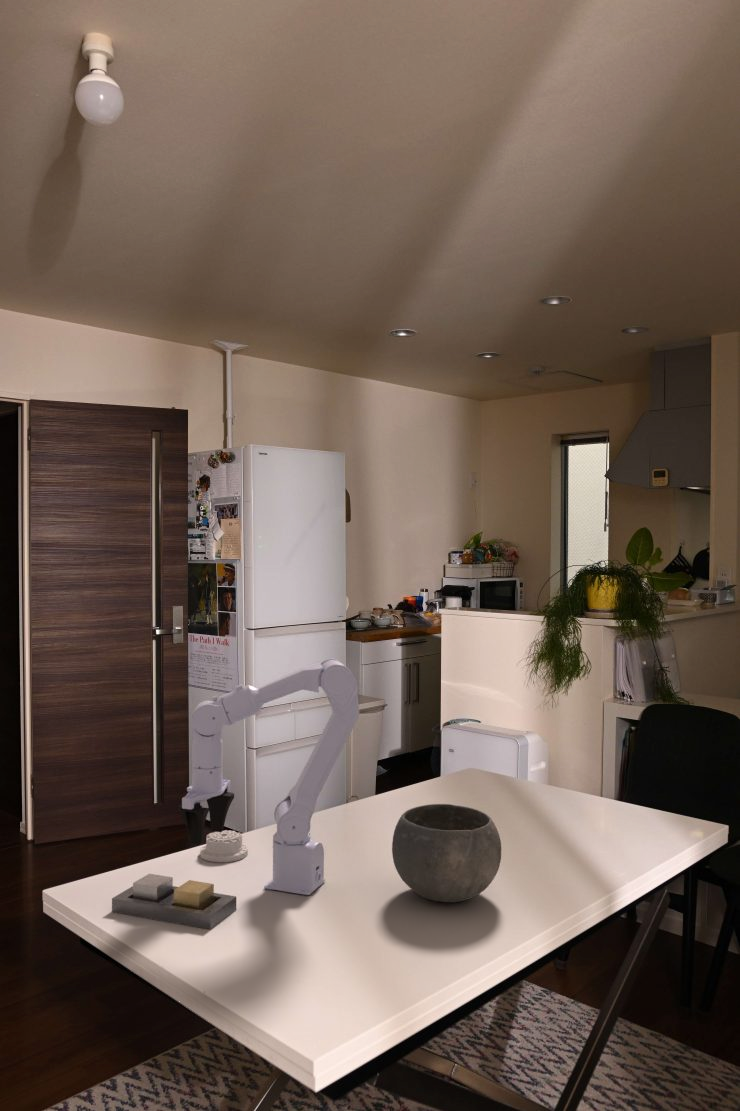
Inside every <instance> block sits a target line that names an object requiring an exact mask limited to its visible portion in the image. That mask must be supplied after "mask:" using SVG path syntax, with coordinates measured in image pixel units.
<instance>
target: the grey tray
mask: <svg viewBox="0 0 740 1111" xmlns="http://www.w3.org/2000/svg"><path fill="white" fill-rule="evenodd" d="M178 887H179V886H174V885H173V894H171V895H170V896H168V897H167V898H165V899H164V900H162V901H161V902H159V903H155V902H149V901H143V900H138V899H133V885H132V886H130V887H129V888H127V889H125V890H123V891H122V892H120V893H119V894H117V895H115V896H113V897H112V898H111V913H116V912H117V913H118V914H121V913H122V914H121V915H128V916H133V917H139V918H144V919H150V920H156V921H162V922H166V923H171V924H178V925H184V926H188V927H195V928H200V929H205V930H212V929H213V928H215V927H216V926H217V925H219V924H220V923H221V922H222V921H223V920H225V919H226V918H228V917H229V916H231V915H232V914H233V913H234V912H236V911H237V896H235V895H228V894H223V893H218V892H214V903H213V904H212V905H210V906H209V907H208V908H206V909H205V910H203V911H201V910H195V909H190V908H184V907H178V906H174V890H175V889H176V888H178Z"/></svg>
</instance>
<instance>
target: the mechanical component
mask: <svg viewBox="0 0 740 1111" xmlns="http://www.w3.org/2000/svg"><path fill="white" fill-rule="evenodd" d="M205 838H206V841H205V845H203V846H202V847H201V848H200V850H199V855H200V856H199V857H200V859H202V860H205V861H208V862H212V863H232V862H236V861H239V860H242V859H244V858H246V857H247V856H248V855H249V848H248V846H247V845H246V844H244V843H243V835H242V833H241V832H236V831H235V830H227V829H225V830H223V831H222V832H215V831H213V832H210V833H208V834H207V835H206V837H205Z"/></svg>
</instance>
